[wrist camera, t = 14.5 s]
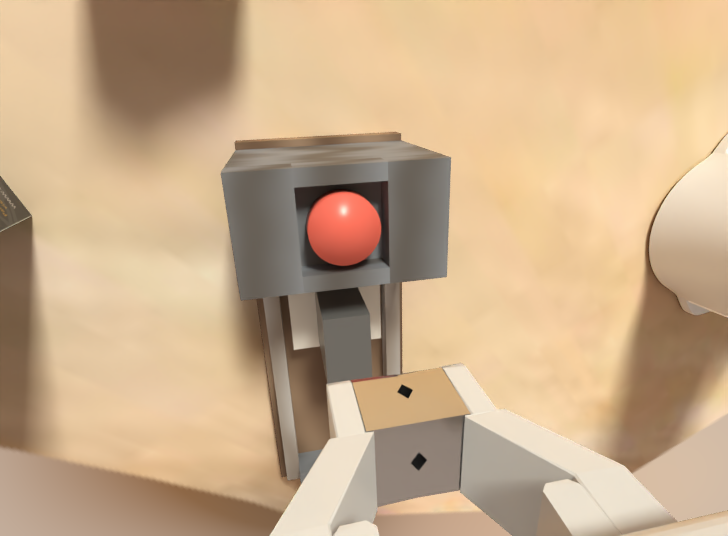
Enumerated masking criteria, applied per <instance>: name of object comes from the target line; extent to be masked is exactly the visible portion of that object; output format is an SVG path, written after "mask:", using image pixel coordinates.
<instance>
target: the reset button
mask: <svg viewBox="0 0 728 536" xmlns="http://www.w3.org/2000/svg"><path fill="white" fill-rule="evenodd" d="M306 229H307V234H308V238H309V241H310V244H311V246H312V248H313V250H314V252H315V253H316V254H317V255H318V256H319V257H320V258H321V259H323V260H324V261H326V262H328V263H331V264H334V265H339V266H347V265H353V264H356V263H358V262H361V261H362V260H364V259H365V258H367V257H368V256H369V255H370V254H371V253H372V252H373V251H374V250H375V248H376V246H377V244H378V242H379V239H380V235H381V222H380V218H379V215H378V213H377V211H376V210H375V208H374V207H373V206H372V205H371V204H370V203H369V202H368V201H367V200H366V198H365V197H363V196H362V195H361V194H359V193H357V192H355V191H352V190H348V189H336V190H332V191H329V192H326V193H324V194H323V195H321V196H320V197H319V198H317V199H316V200H315V201H314V203H313V204H312V206H311V207H310V209H309V211H308V214H307V218H306Z"/></svg>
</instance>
